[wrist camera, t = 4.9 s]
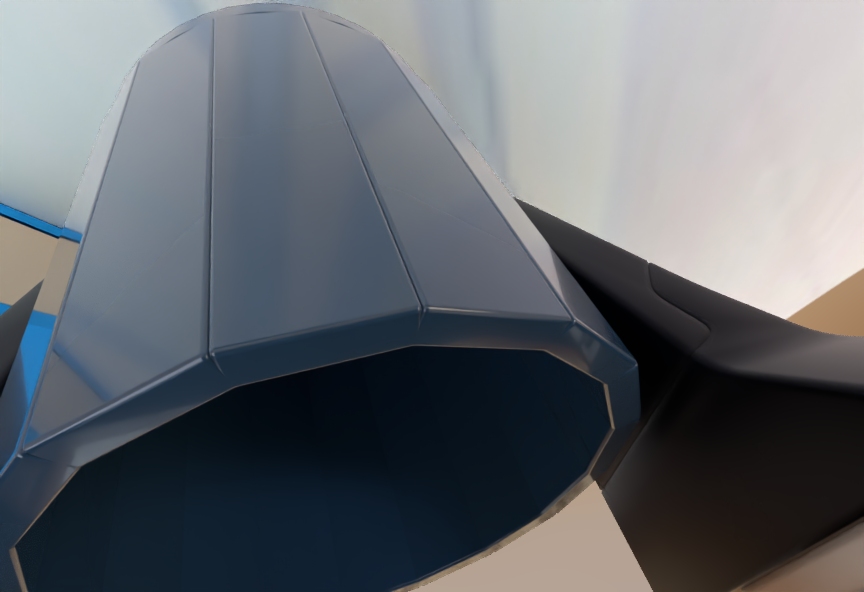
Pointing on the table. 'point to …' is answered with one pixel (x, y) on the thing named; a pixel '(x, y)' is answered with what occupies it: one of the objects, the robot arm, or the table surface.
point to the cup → (295, 335)
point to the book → (23, 253)
